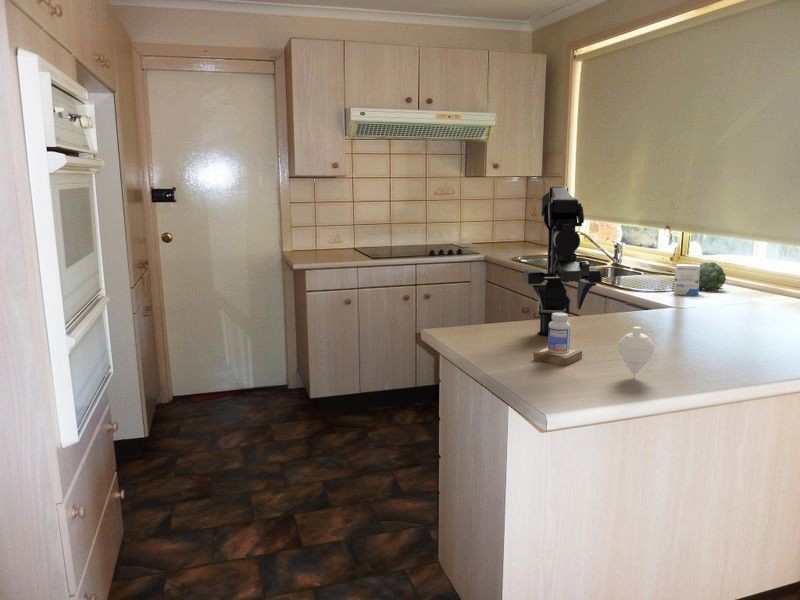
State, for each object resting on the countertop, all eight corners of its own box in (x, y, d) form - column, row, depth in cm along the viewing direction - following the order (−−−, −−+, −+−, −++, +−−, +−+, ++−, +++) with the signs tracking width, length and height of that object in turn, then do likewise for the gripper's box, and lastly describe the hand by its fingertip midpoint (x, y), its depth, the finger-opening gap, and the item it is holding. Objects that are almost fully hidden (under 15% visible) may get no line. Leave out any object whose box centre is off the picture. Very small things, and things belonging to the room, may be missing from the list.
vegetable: (740, 285, 251) (722, 272, 243) (712, 304, 258) (694, 292, 249) (724, 265, 260) (706, 251, 251) (698, 284, 266) (680, 271, 258)
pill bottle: (553, 347, 163) (554, 310, 161) (572, 350, 160) (574, 313, 158) (543, 351, 159) (545, 314, 157) (563, 354, 156) (564, 317, 154)
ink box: (698, 294, 246) (701, 264, 243) (697, 296, 242) (699, 266, 239) (675, 292, 250) (677, 263, 248) (673, 294, 246) (675, 264, 244)
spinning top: (610, 377, 144) (613, 327, 142) (626, 370, 149) (628, 322, 147) (642, 385, 139) (646, 332, 136) (657, 377, 144) (660, 326, 142)
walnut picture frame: (533, 359, 159) (533, 351, 159) (550, 352, 166) (550, 344, 166) (565, 366, 154) (565, 357, 153) (581, 358, 160) (582, 350, 160)
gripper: (534, 253, 147) (533, 317, 150) (612, 251, 148) (609, 315, 151) (523, 248, 158) (521, 308, 161) (595, 246, 159) (592, 306, 162)
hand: (561, 309), depth 158 cm, fingers open, 9 cm apart
